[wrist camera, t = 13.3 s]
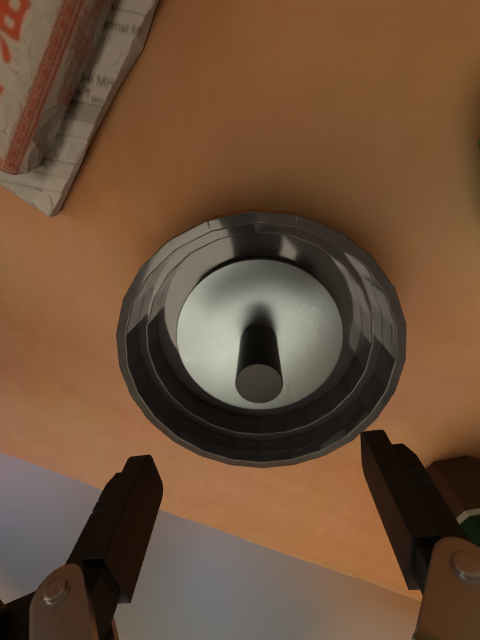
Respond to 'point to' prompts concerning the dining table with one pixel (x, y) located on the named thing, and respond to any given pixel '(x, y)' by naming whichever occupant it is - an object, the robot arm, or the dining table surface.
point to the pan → (278, 423)
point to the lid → (259, 333)
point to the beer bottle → (460, 491)
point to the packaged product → (60, 86)
